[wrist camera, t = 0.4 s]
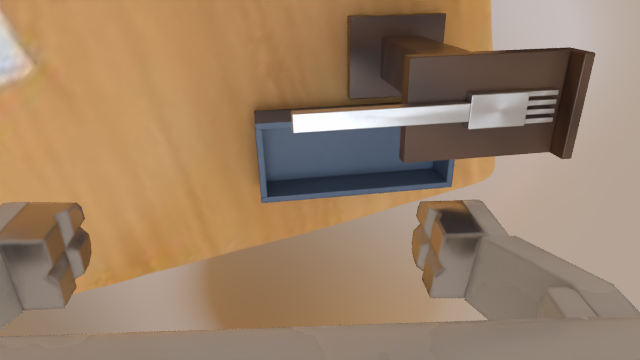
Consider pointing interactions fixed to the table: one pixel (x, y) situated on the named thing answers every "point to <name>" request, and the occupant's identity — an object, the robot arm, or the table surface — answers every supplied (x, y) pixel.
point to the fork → (435, 112)
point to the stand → (463, 86)
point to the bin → (336, 161)
